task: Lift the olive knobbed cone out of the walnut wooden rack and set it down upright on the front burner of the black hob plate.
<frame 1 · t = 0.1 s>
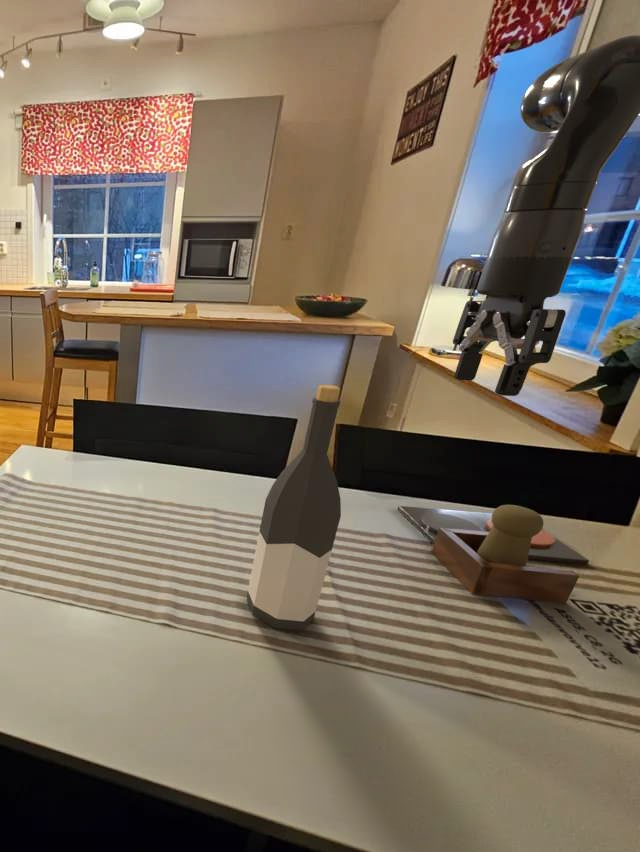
hand: (483, 386, 64), 27 cm above the table, tool pointing down, fingers open, 8 cm apart
olive knobbed cone: (493, 577, 72), resting in rack
wine bottle: (278, 611, 64), on the table
rack: (493, 576, 71), on the table
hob: (482, 534, 82), on the table
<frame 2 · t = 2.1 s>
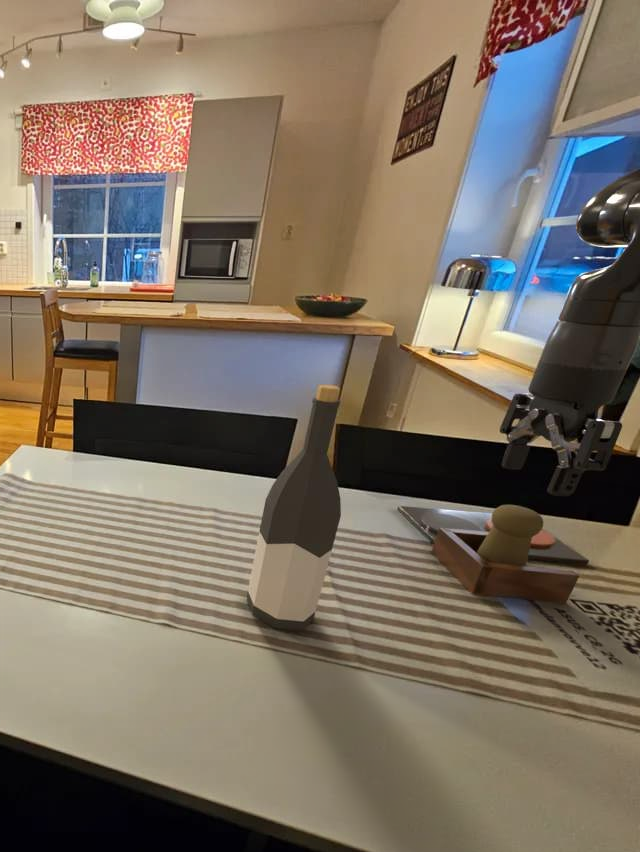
hand: (532, 480, 66), 15 cm above the table, tool pointing down, fingers open, 8 cm apart
nothing on the table moved.
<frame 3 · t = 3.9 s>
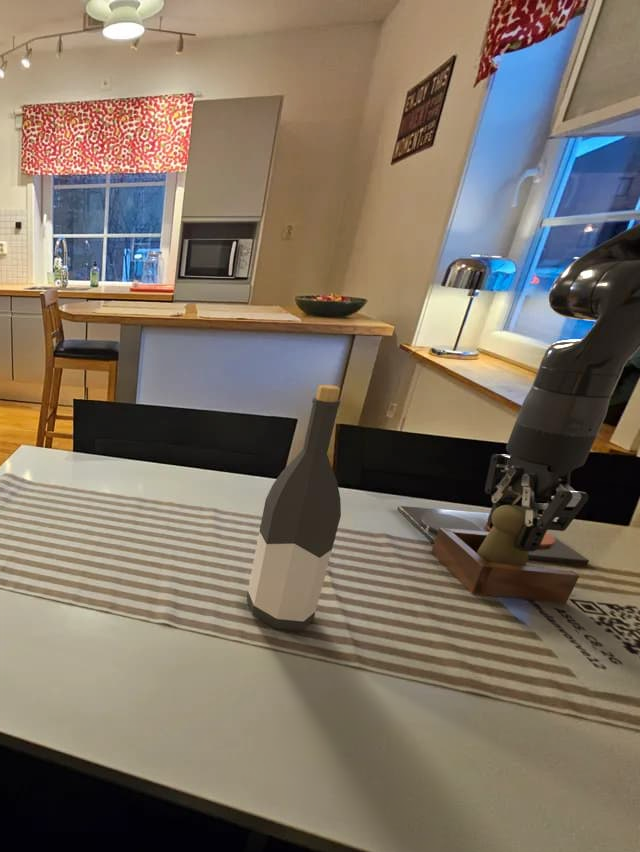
hand: (509, 537, 69), 6 cm above the table, tool pointing down, fingers closed on olive knobbed cone, 5 cm apart
olive knobbed cone: (493, 577, 72), resting in rack, touching gripper
everything else where it was.
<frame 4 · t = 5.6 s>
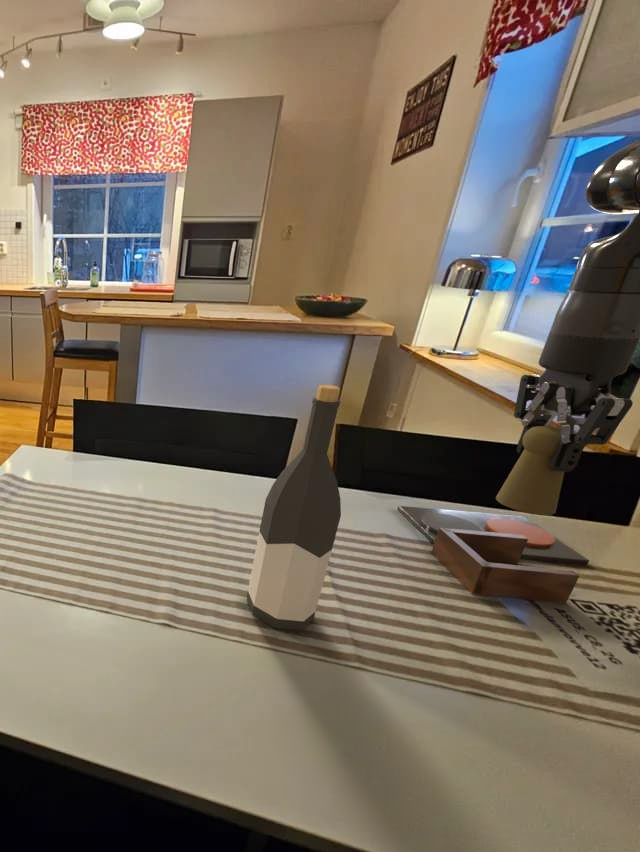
hand: (542, 461, 65), 18 cm above the table, tool pointing down, fingers closed on olive knobbed cone, 5 cm apart
olive knobbed cone: (524, 505, 67), point 12 cm above the table, touching gripper
everything else where it was.
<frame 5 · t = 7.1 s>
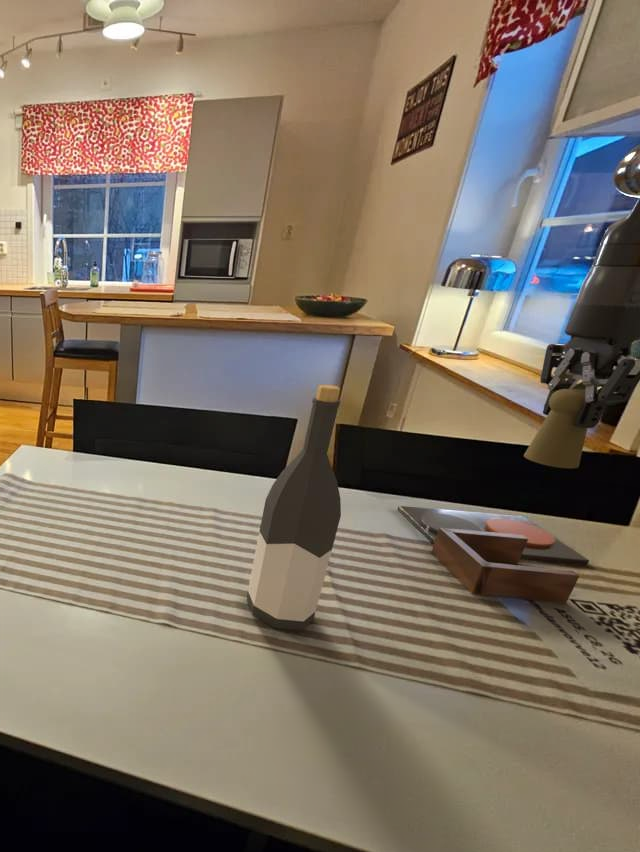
hand: (567, 420, 72), 21 cm above the table, tool pointing down, fingers closed on olive knobbed cone, 5 cm apart
olive knobbed cone: (550, 461, 75), point 14 cm above the table, touching gripper
everything else where it was.
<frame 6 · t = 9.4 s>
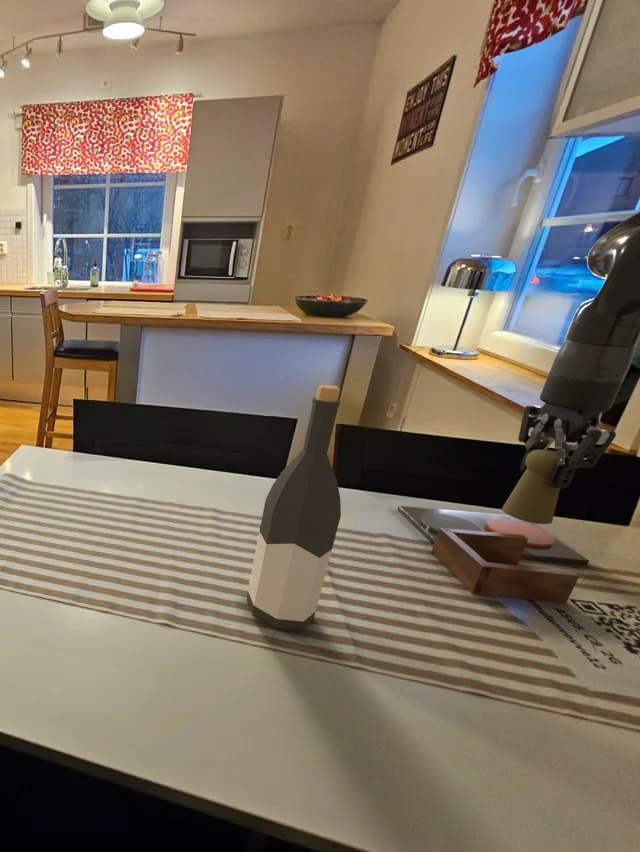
hand: (541, 479, 78), 11 cm above the table, tool pointing down, fingers closed on olive knobbed cone, 5 cm apart
olive knobbed cone: (526, 515, 80), point 4 cm above the table, touching gripper
everything else where it was.
when the fingers open (8 cm above the table, at t = 10.7 s): olive knobbed cone stays where it is, resting on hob.
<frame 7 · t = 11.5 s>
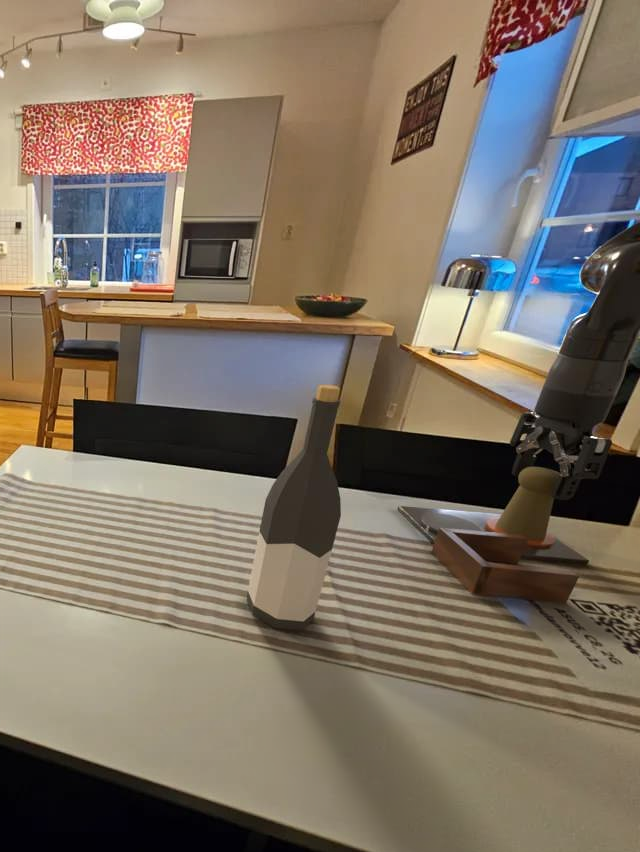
hand: (538, 486, 78), 9 cm above the table, tool pointing down, fingers open, 8 cm apart
olive knobbed cone: (519, 531, 81), point 1 cm above the table, touching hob
everything else where it was.
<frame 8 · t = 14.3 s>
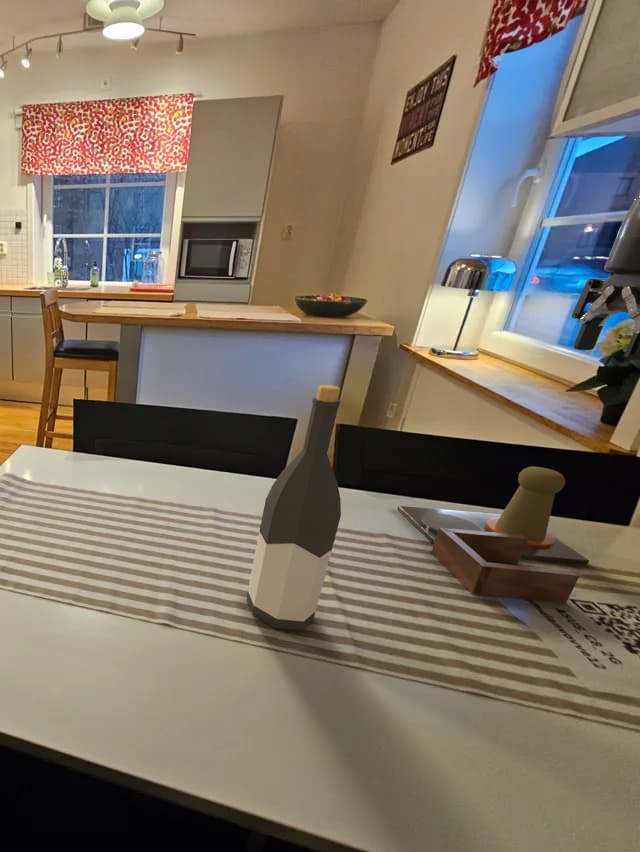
hand: (606, 354, 73), 30 cm above the table, tool pointing down, fingers open, 8 cm apart
nothing on the table moved.
at the end: olive knobbed cone 0.0 cm from the target spot on the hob, point 1.1 cm above the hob's base; olive knobbed cone tilted 0°; the gripper is holding nothing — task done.
